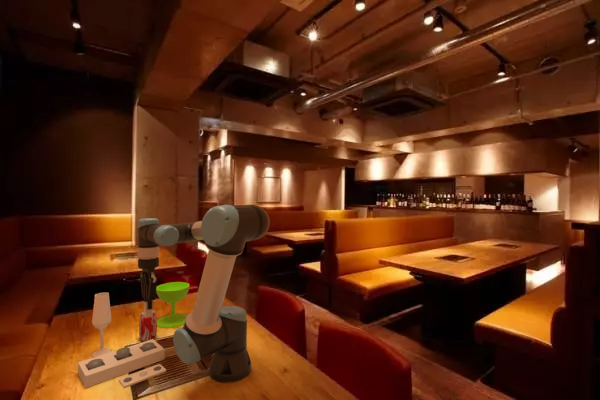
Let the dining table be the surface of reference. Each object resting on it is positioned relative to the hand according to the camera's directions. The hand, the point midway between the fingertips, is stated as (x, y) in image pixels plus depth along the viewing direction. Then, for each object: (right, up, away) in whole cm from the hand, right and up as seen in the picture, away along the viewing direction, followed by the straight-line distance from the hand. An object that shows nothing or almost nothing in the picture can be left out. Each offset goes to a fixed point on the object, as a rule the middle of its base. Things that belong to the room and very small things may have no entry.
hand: (148, 316), depth 123 cm
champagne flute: (-21, -16, +4) cm, 27 cm away
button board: (-7, -16, -6) cm, 19 cm away
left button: (-13, -15, -13) cm, 23 cm away
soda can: (-8, -16, +16) cm, 25 cm away
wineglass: (-5, -16, +36) cm, 39 cm away
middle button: (-7, -14, -6) cm, 17 cm away
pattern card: (+4, -17, -12) cm, 21 cm away
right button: (0, -15, 0) cm, 15 cm away
